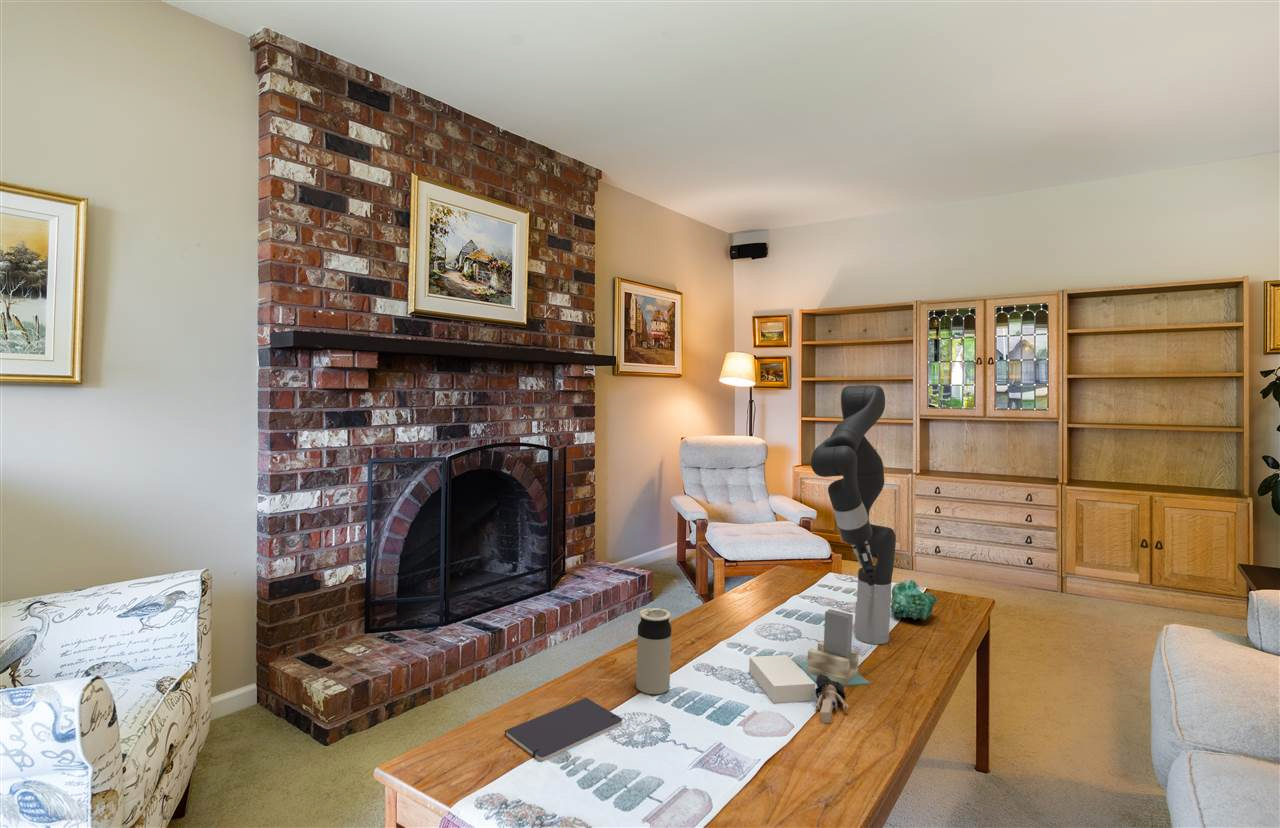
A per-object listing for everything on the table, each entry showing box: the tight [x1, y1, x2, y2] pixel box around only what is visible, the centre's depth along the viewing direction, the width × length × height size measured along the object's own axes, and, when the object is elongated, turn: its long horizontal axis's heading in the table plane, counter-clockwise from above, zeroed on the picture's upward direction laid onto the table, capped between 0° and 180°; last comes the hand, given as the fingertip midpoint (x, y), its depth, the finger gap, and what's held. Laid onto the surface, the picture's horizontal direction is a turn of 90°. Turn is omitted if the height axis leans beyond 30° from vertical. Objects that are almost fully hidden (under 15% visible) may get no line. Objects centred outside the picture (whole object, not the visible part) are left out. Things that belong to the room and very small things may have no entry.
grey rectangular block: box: [823, 608, 854, 670], centre depth 163 cm, size 6×3×14 cm, turn 53°
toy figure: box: [814, 674, 849, 724], centre depth 147 cm, size 7×6×15 cm
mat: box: [797, 661, 871, 687], centre depth 164 cm, size 13×13×1 cm
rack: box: [806, 641, 859, 685], centre depth 164 cm, size 10×9×6 cm
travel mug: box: [635, 607, 672, 695], centre depth 153 cm, size 8×8×18 cm
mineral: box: [890, 579, 938, 622], centre depth 208 cm, size 18×16×10 cm
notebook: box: [504, 697, 623, 762], centre depth 134 cm, size 13×2×21 cm
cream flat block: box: [748, 654, 816, 704], centre depth 156 cm, size 16×10×4 cm, turn 11°
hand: (869, 574), depth 163 cm, fingers open, 8 cm apart
